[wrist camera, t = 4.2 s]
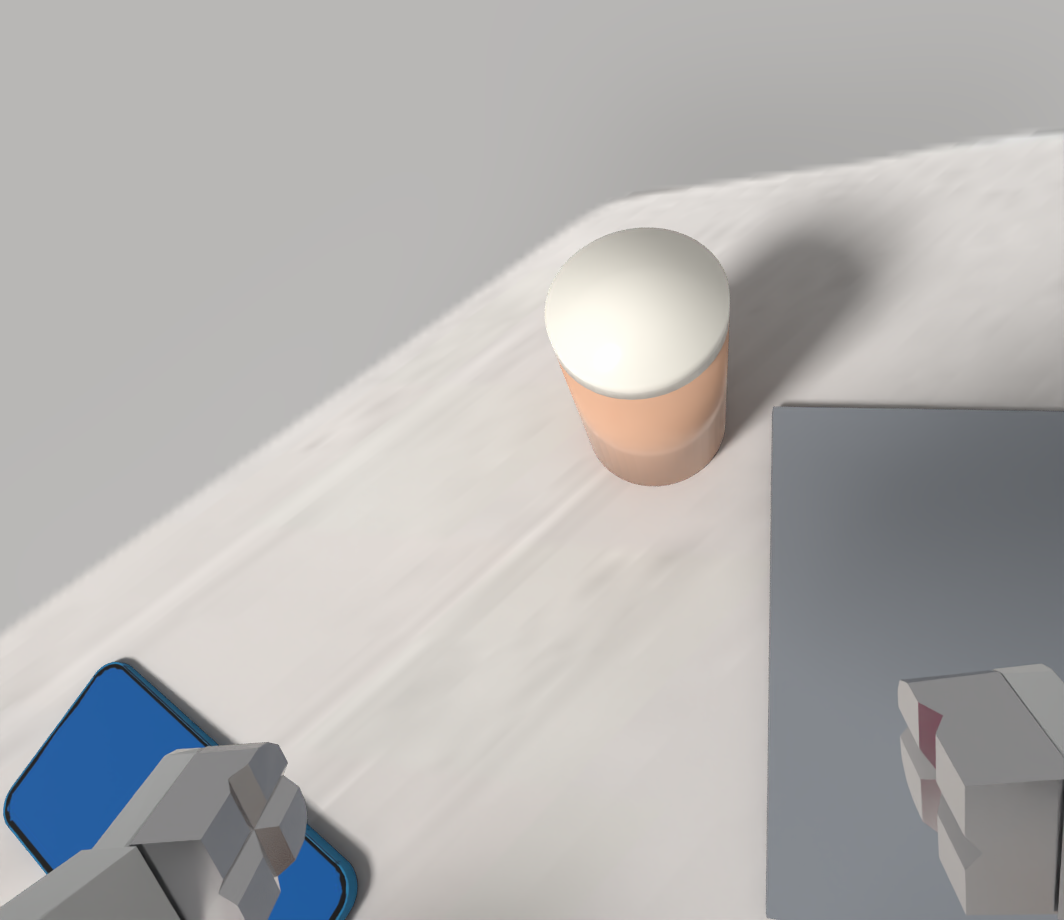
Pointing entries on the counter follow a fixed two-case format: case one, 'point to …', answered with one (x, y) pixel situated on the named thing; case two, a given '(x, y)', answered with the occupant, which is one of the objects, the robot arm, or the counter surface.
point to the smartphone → (119, 771)
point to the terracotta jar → (645, 351)
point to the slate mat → (893, 629)
